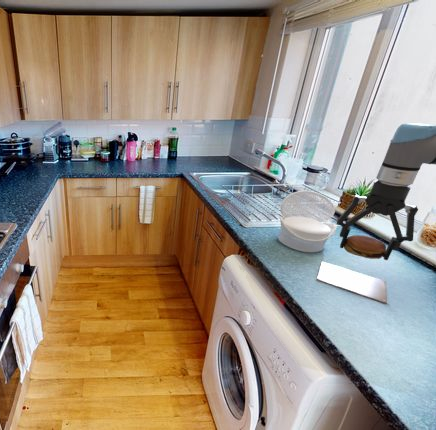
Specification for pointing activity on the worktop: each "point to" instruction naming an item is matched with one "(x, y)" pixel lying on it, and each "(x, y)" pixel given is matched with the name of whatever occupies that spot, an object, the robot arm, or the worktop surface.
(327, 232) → the plastic deli container
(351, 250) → the burger
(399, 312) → the worktop surface
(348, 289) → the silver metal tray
